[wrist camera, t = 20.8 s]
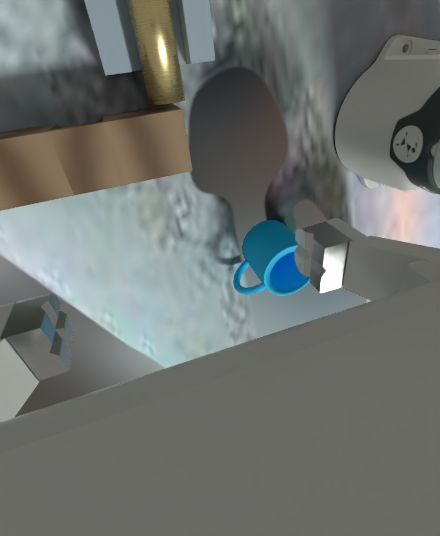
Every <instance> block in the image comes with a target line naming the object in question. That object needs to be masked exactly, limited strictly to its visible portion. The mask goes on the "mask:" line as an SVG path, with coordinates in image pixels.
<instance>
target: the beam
mask: <svg viewBox="0 0 440 536" xmlns="http://www.w3.org/2000/svg"><path fill="white" fill-rule="evenodd" d="M189 171H192V165H191V159H190V153H189V147H188V141H187V135H186V129H185V123H184V116H183V110H182V109H181V108H179V107H177V106H175V105H174V104H173V105H167V106H161V107H155V108H149V109H143V110H136V111H130V112H124V113H118V114H112V115H106V116H103V121H101V122H95V123H89V124H83V125H77V126H71V127H65V128H59V129H58V128H57V125H56V124H51V125H45V126H39V127H32V128H26V129H20V130H14V131H8V132H2V133H0V211H1V210H5V209H10V208H15V207H20V206H25V205H30V204H34V203H39V202H44V201H49V200H54V199H59V198H63V197H68V196H73V195H78V194H83V193H88V192H92V191H97V190H102V189H107V188H112V187H117V186H121V185H126V184H131V183H136V182H141V181H146V180H150V179H155V178H160V177H165V176H170V175H175V174H179V173H184V172H189Z"/></svg>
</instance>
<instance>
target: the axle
mask: <svg viewBox="0 0 440 536" xmlns="http://www.w3.org/2000/svg"><path fill="white" fill-rule="evenodd" d="M127 4H128V9H129V14H130V18H131V23H132V27H133V32H134V36H135V41H136V46H137V50H138V55H139V59H140V64H141V68H142V73H143V77H144V82H145V87H146V91H147V96H148V100H149V105H164V104H171V103H176V102H181V101H184V100H185V96H184V90H183V84H182V77H181V71H180V64H179V58H178V52H177V45H176V39H175V32H174V26H173V20H172V13H171V7H170V1H169V0H127Z"/></svg>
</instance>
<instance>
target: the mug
mask: <svg viewBox="0 0 440 536" xmlns="http://www.w3.org/2000/svg"><path fill="white" fill-rule="evenodd" d="M298 245H299V244H298V243H297V242H296V241H295V233H294V232H293V231H291V230H290V229H289V228H288V227H287V226H286V225H285V224H284V223H282V222H279V221H277V220H268V221H263V222H261V223H259V224H257V225H256V226H254V227H253V228H252V229H251V230H250V231H249V232H248V234H247V235H246V237H245V239H244V241H243V246H242V250H243V255H244V257H245V259H246V260H245V261H244V262H243V263H242V264H241V265H240V267H239V268H238V269H237V271H236V273H235V275H234V280H233V283H234V287H235V289H236V290H237V291H238V292H239V293H242V294H246V295H247V294H255V293H258V292H260V291H263V290H264V289H267V290H268V291H270V292H271V293H272V294H275V295H279V296H283V295H290V294H293V293H296V292H297V291H299V290H300V289H302V288H304V286H306V285H307V284H308V283H309V282H310V277H308V276H305V275H303V274H302V273H301V272H300V271H299V270H298V268H297V266H296V262H295V250H296V248H297V246H298ZM249 265H250V266H251V268H253V270H254V272H255V273H256V274H257V276H258V277H259V279H260V280H261V282H262V283H260V284H259V285H256V286H254V287H249V288H245V287H242V286H241V285H240V278H241V276H242V274H243V272H244V271H245V270H246V268H247V267H248V266H249Z"/></svg>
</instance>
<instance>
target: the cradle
mask: <svg viewBox="0 0 440 536" xmlns="http://www.w3.org/2000/svg"><path fill="white" fill-rule="evenodd" d="M84 1H85V4H86V8H87V12H88V15H89V19H90V22H91V26H92V29H93V33H94V36H95V40H96V44H97V47H98V51H99V54H100V58H101V61H102V65H103V68H104V72H105V76H106V75H113V74H120V73H127V72H132V71H139V70H142V68H141V64H140V59H139V55H138V50H137V46H136V41H135V36H134V32H133V27H132V23H131V18H130V14H129V9H128V4H127V0H84ZM169 1H170V7H171V13H172V20H173V26H174V32H175V39H176V45H177V52H178V58H179V64H180V65H182V64H192V63H199V62H206V61H213V60H215V54H214V44H213V34H212V24H211V13H210V3H209V0H169Z"/></svg>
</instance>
